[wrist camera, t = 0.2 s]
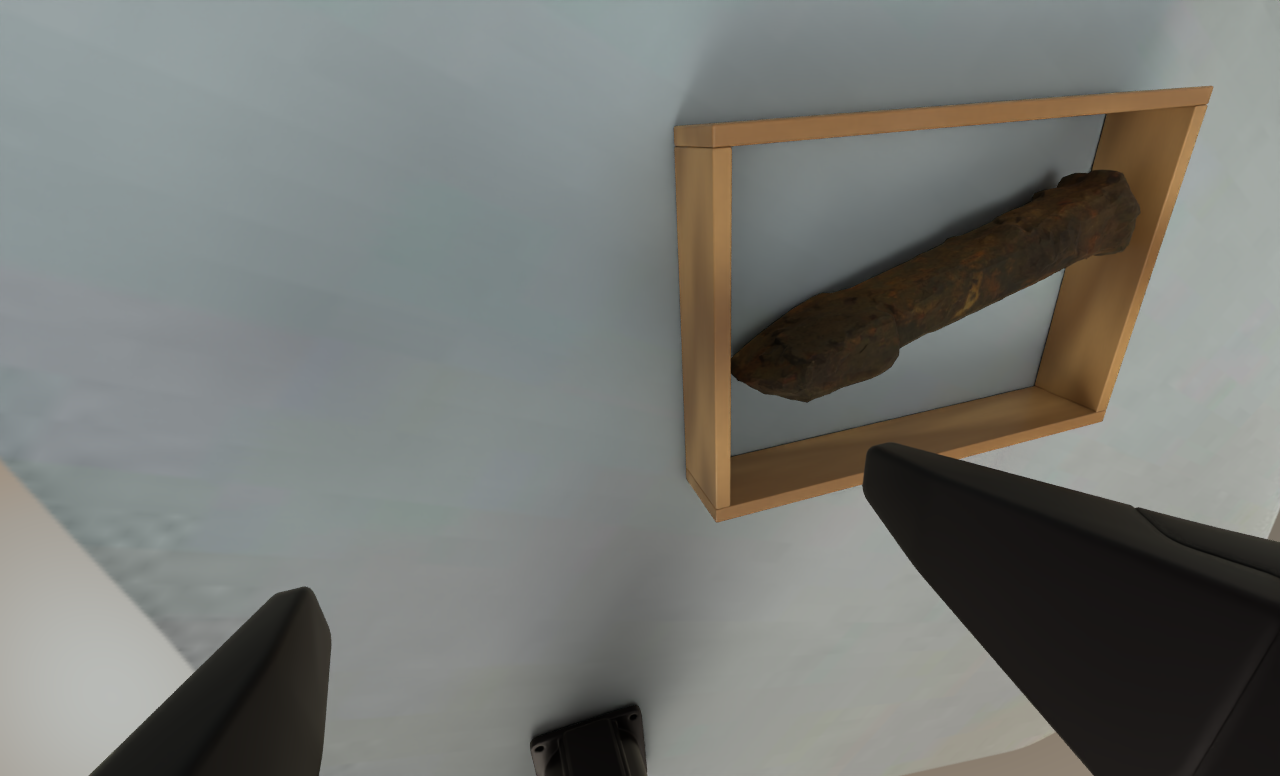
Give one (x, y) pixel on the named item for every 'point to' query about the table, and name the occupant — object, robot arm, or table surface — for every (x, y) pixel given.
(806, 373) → the dark brown long piece
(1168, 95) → the wooden rectangular frame
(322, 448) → the table surface
